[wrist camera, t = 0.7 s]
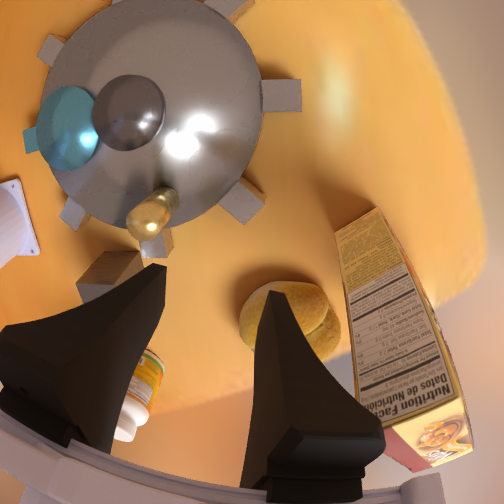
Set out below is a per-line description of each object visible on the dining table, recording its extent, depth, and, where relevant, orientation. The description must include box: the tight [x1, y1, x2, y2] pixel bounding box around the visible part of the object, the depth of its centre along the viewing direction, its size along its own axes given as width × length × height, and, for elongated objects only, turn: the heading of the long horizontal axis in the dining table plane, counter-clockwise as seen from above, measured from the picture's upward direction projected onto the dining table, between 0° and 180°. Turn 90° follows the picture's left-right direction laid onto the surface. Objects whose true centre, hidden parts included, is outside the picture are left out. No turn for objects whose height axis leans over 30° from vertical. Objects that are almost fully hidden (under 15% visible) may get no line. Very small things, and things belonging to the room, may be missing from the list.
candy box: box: [334, 207, 474, 473], centre depth 15 cm, size 9×4×15 cm, turn 40°
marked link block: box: [76, 251, 144, 305], centre depth 22 cm, size 4×5×5 cm
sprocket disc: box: [23, 0, 302, 258], centre depth 15 cm, size 21×21×6 cm
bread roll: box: [239, 281, 341, 362], centre depth 24 cm, size 8×9×4 cm
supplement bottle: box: [114, 350, 164, 442], centre depth 26 cm, size 5×5×10 cm
